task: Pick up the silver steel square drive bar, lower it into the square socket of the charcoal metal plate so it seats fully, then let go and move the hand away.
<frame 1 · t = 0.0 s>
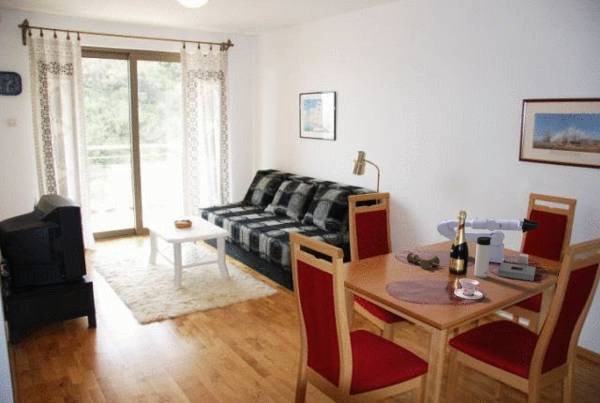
hand: (538, 225, 253), 22 cm above the table, tool horizontal, fingers open, 7 cm apart
teacup: (468, 295, 217), on the table
travel mug: (481, 276, 241), on the table
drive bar: (522, 268, 254), on the table
socket plate: (516, 274, 244), on the table
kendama: (423, 266, 257), on the table
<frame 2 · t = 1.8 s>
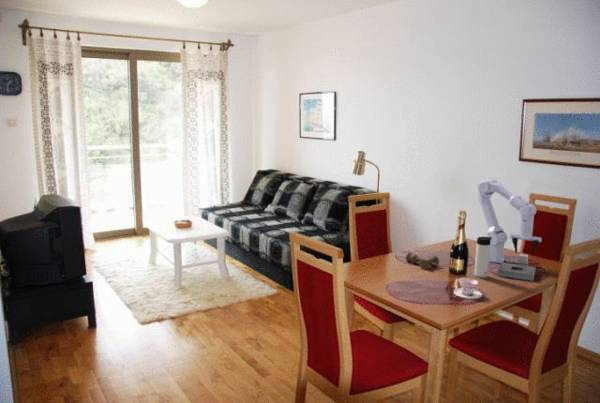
hand: (524, 253, 252), 8 cm above the table, tool pointing down, fingers open, 7 cm apart
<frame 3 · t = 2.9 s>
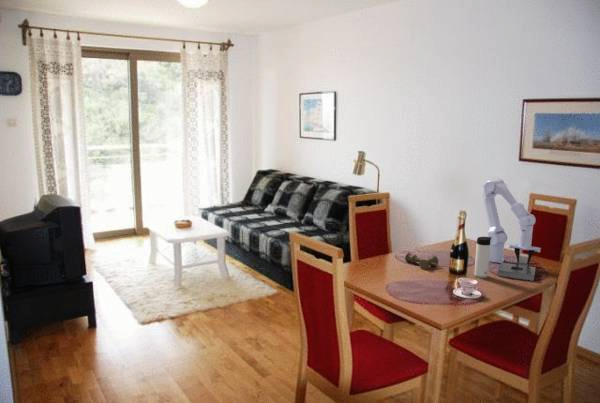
hand: (523, 263, 253), 3 cm above the table, tool pointing down, fingers closed on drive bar, 4 cm apart
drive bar: (522, 268, 254), on the table, touching gripper
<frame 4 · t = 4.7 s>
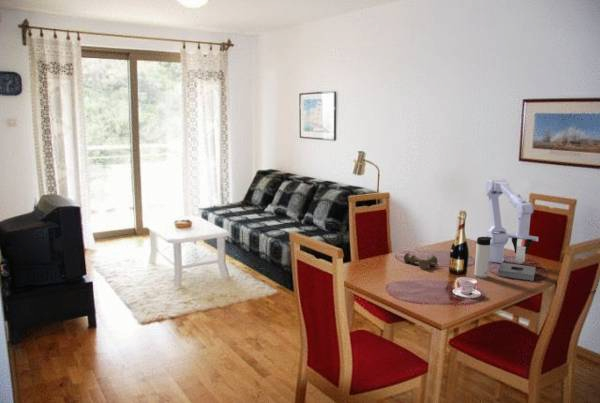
hand: (520, 253, 245), 10 cm above the table, tool pointing down, fingers closed on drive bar, 4 cm apart
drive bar: (520, 260, 247), point 6 cm above the table, touching gripper
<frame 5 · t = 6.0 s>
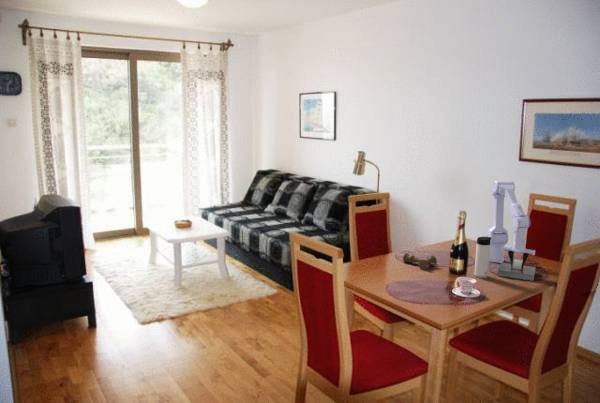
hand: (517, 266, 243), 4 cm above the table, tool pointing down, fingers closed on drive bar, 4 cm apart
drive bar: (516, 274, 244), resting in socket plate, touching gripper
when the fingers open (4 cm above the table, at t = 6.7 s): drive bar stays where it is, resting in socket plate.
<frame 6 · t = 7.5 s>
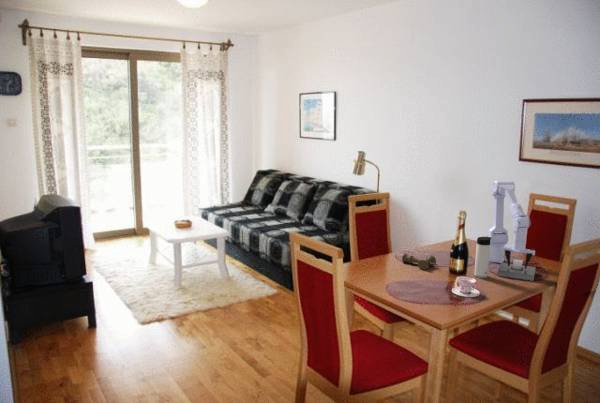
hand: (517, 266, 243), 4 cm above the table, tool pointing down, fingers open, 7 cm apart
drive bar: (516, 274, 244), resting in socket plate
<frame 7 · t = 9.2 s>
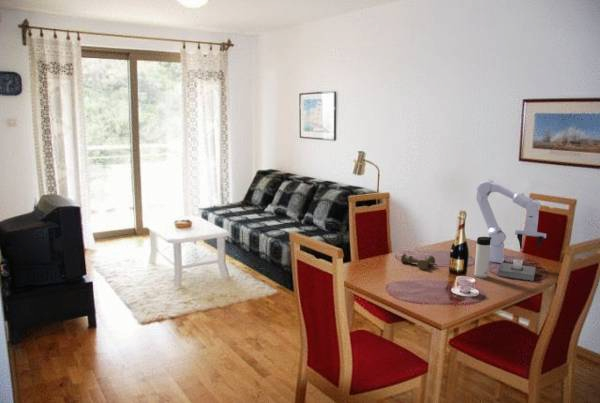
hand: (529, 249, 254), 9 cm above the table, tool pointing down, fingers open, 7 cm apart
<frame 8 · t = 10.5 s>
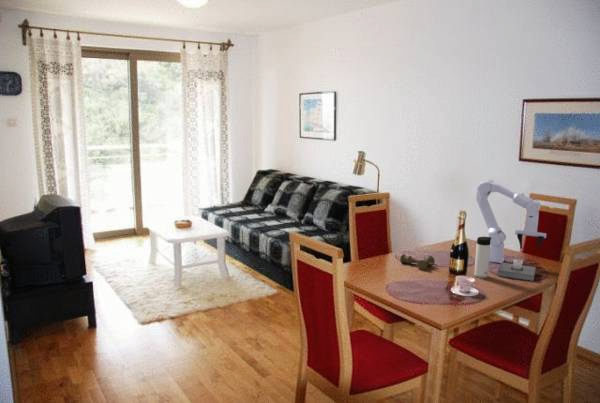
hand: (529, 249, 254), 9 cm above the table, tool pointing down, fingers open, 7 cm apart
at the end: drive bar 0.3 cm off-centre on the socket plate, point 0.0 cm above the socket plate's base; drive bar tilted 0°; the gripper is holding nothing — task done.
